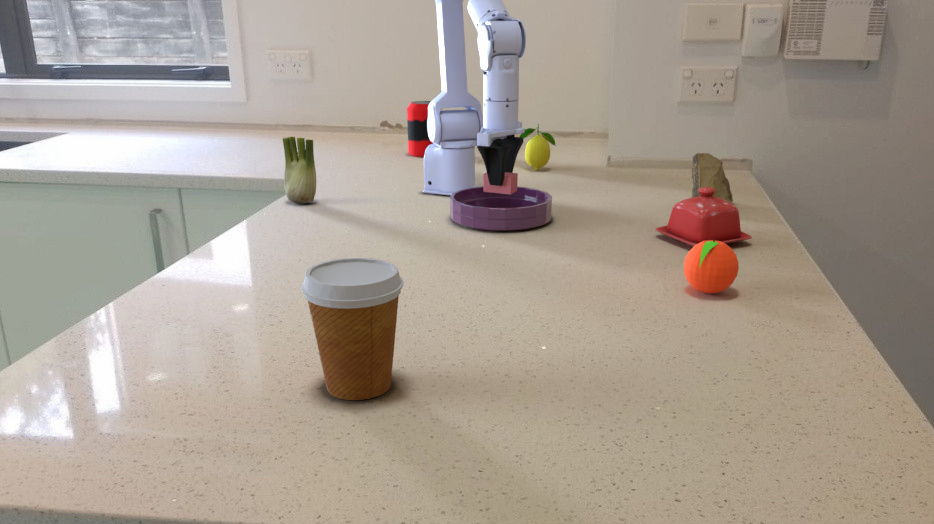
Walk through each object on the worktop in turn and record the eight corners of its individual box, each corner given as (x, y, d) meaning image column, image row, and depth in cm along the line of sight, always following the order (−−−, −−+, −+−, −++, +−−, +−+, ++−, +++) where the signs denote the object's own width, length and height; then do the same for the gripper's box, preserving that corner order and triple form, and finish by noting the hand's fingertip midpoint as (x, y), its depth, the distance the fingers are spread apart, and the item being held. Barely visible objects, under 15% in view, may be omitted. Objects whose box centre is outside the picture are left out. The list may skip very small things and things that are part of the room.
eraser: (483, 191, 141) (483, 174, 140) (490, 188, 144) (490, 170, 142) (510, 194, 139) (511, 176, 138) (517, 190, 142) (517, 173, 141)
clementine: (722, 307, 105) (729, 252, 102) (670, 297, 108) (675, 243, 105) (742, 289, 111) (748, 237, 108) (692, 280, 114) (697, 229, 112)
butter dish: (697, 254, 125) (702, 198, 122) (650, 235, 135) (654, 183, 132) (755, 245, 130) (762, 191, 127) (706, 227, 140) (711, 176, 137)
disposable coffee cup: (316, 367, 87) (306, 257, 83) (408, 365, 88) (404, 255, 83) (303, 410, 78) (292, 288, 74) (406, 407, 79) (401, 286, 75)
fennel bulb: (321, 203, 153) (316, 136, 149) (299, 207, 150) (293, 140, 146) (303, 198, 157) (297, 133, 153) (280, 202, 154) (274, 136, 149)
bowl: (433, 226, 139) (433, 202, 138) (475, 203, 154) (475, 182, 153) (530, 237, 133) (531, 213, 132) (564, 213, 148) (565, 191, 147)
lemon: (517, 171, 181) (518, 124, 178) (526, 166, 186) (527, 121, 183) (546, 174, 179) (548, 126, 175) (555, 169, 184) (556, 123, 180)
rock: (723, 185, 159) (675, 180, 157) (745, 154, 152) (696, 148, 150) (737, 230, 154) (688, 226, 151) (761, 200, 147) (710, 195, 144)
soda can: (446, 153, 201) (445, 101, 196) (427, 158, 195) (426, 105, 190) (421, 150, 204) (420, 99, 200) (401, 155, 199) (400, 102, 194)
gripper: (506, 106, 128) (505, 194, 133) (539, 96, 140) (537, 176, 146) (464, 103, 131) (465, 190, 136) (500, 93, 143) (499, 173, 148)
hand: (500, 183), depth 141 cm, fingers closed on eraser, 3 cm apart
